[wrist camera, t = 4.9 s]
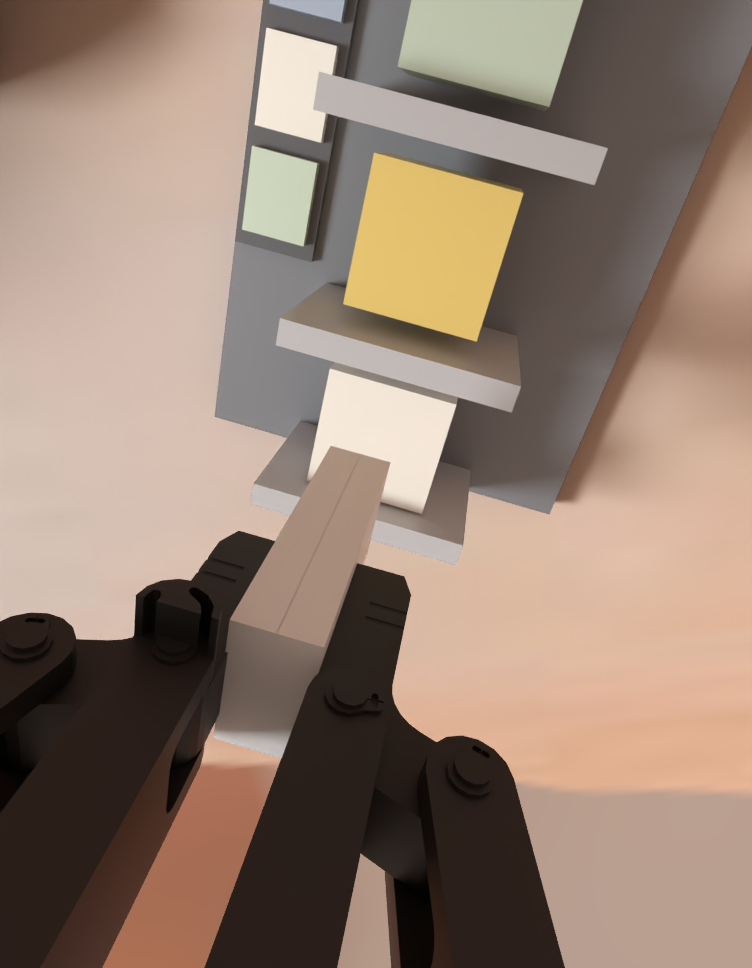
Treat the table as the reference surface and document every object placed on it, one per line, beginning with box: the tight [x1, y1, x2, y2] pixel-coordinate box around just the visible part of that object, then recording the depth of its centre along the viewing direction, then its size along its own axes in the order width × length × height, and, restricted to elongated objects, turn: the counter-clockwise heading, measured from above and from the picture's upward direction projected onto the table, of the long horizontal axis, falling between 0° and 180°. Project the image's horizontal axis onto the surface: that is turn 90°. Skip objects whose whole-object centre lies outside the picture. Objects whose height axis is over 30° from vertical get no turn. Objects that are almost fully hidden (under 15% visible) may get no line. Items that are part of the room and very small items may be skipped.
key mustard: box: [343, 152, 524, 342], centre depth 19 cm, size 4×4×2 cm
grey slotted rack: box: [215, 0, 752, 565], centre depth 18 cm, size 14×24×6 cm, turn 167°
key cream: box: [307, 362, 458, 514], centre depth 21 cm, size 4×4×2 cm
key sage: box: [398, 0, 583, 111], centre depth 16 cm, size 4×4×2 cm
